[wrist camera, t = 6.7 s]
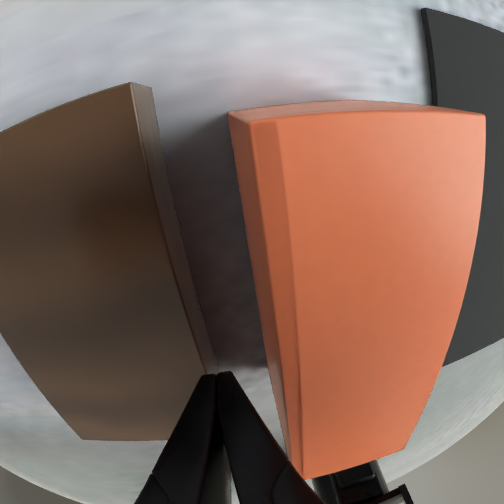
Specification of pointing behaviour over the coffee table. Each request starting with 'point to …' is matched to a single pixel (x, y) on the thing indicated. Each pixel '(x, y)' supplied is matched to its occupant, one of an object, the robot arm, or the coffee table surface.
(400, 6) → the coffee table surface
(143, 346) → the stand
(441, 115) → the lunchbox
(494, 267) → the mat
